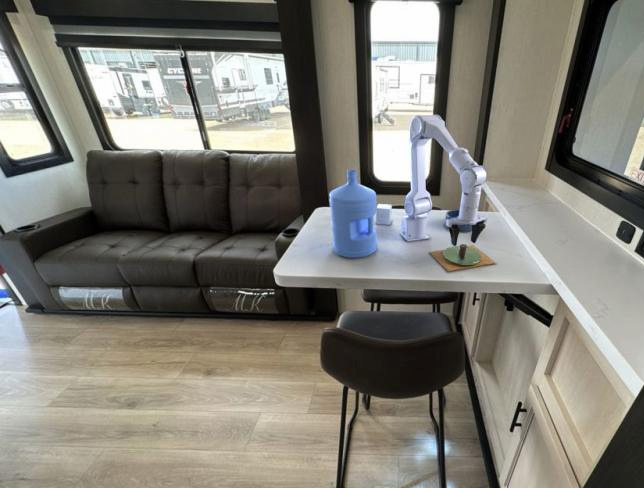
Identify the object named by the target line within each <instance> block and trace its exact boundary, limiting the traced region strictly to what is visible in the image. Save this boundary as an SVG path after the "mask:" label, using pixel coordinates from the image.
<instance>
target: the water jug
mask: <svg viewBox="0 0 644 488" xmlns="http://www.w3.org/2000/svg"><path fill="white" fill-rule="evenodd" d="M346 173H347V176H346V178H347V181H346V183H345V184H344V185H341V186H339V187H337V188H335V189H333V190H331V191H330V192H329V207H330V216H331V230H332V238H333V243H332V245H333V250H334V252H335V253H336V254H337V255H338V256H340V257H343V258H349V259H360V258H364V257H368V256H370V255H373V253H375V252H376V250H377V249H378V241H377V229H376V228H375V227H374V217H375V216H376V208H377V205H378V204H377V193H376V192H375V190H374V189H371V188H369V187H367V186H365V185H363V184H360V183H359V182H358V175H357V173H358V170H356V169H348V170H346Z"/></svg>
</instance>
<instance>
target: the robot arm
mask: <svg viewBox="0 0 644 488" xmlns="http://www.w3.org/2000/svg"><path fill="white" fill-rule="evenodd" d="M445 122H446V121H444V120H443V118H442V117H441V116H440V115H439V114H428V115H427V114H426V115H421V114H416V115H414V116H413V117H412V119H411V120H410V122H409V123H408V127H409V128H408V129H409V130H408V131H409V138H408V141H409V142H408V147H409V148H408V149H409V169H410V171H409V172H410V174H409V175H410V191H409V192H408V193H407V194H406V196H405V203H404V212H405V213H406V215H405V216H402V218H401V230H400V235H401V236H402V237H403V238H404V239H405V240H406V242H415V241H420V240H421V241H422V240H429V239H430V236H428V235H427V222H428V220H427V219H428V215H429V213H430V212H431V211H432V209H433V202H432V199H431V193H430V192H429V191H427V189H426V188H427V187H426V144H427V143H429V141H430V140H431V139H434V140H436V141H437V142H438V144H439V145H440V146H441V147H442V148H443V149H444V150H445V152H446V153H447V154H448V155H449V157H448V160H449V163H450V164H451V165H452V167H454V169H455V170H456V172H457V173H458V175H459V181H460V184H461V197H460V198H461V199H460V204H459V210H460V212H459V216H458V217H455V218H452V219H447V220H446V225H447V227H448V229H447V230H448V233H449V236H450V242H451V245H452V247H453V246H458V238H459V235H460V233H461V232H460V231H461V230H460V229H459V228H458V225H463V224H470V225H472V231H471V234H470V242H472V243H473V244H476V243H477V241H478V239H479V236H480V235H481V234H482V232H483V231H484V230H485V228H486V226H487V225H486V223H488V219H489V217H488V216H486V215H485V214H483V215H481V214H480V215H478V212H479V211H478V210H479V206H480V199H481V193H482V188H483V185H484V184H485V183H486V181H487V179H488V172H487V170H486V167H485V166H484V165H479V164H478V163H477V162H476V161H475V160H474V159H473V157H471V155H470V153H469V150H468V149H467V148H464V147H459V146H458V144H457V143H456V141H455V140H454V139H453V137H452V135H451V134H450V132H449V131H448V129H447V127H446V123H445Z"/></svg>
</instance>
